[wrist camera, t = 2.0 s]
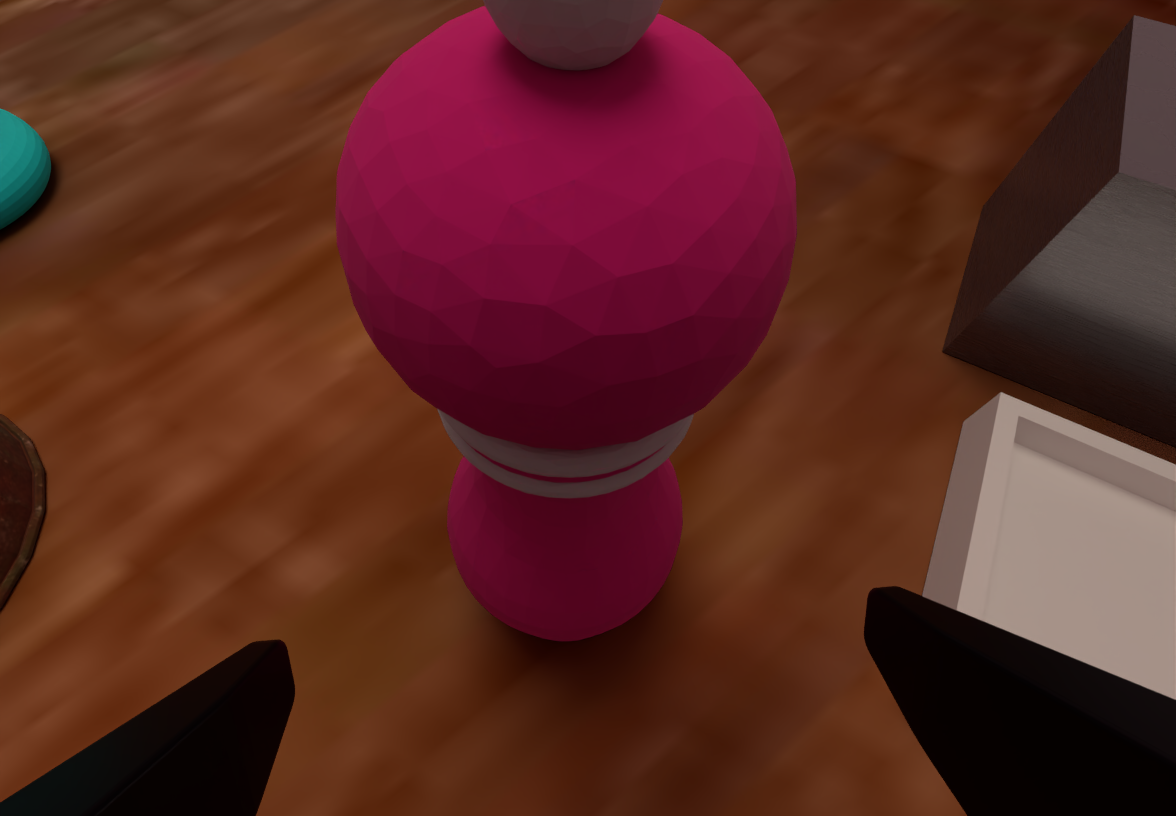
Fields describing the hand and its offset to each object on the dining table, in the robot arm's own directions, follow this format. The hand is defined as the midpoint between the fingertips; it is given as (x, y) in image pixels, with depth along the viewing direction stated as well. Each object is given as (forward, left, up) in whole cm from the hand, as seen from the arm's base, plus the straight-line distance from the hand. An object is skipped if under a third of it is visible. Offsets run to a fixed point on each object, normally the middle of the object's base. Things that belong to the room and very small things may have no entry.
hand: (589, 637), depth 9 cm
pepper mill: (+2, +4, -12) cm, 13 cm away
